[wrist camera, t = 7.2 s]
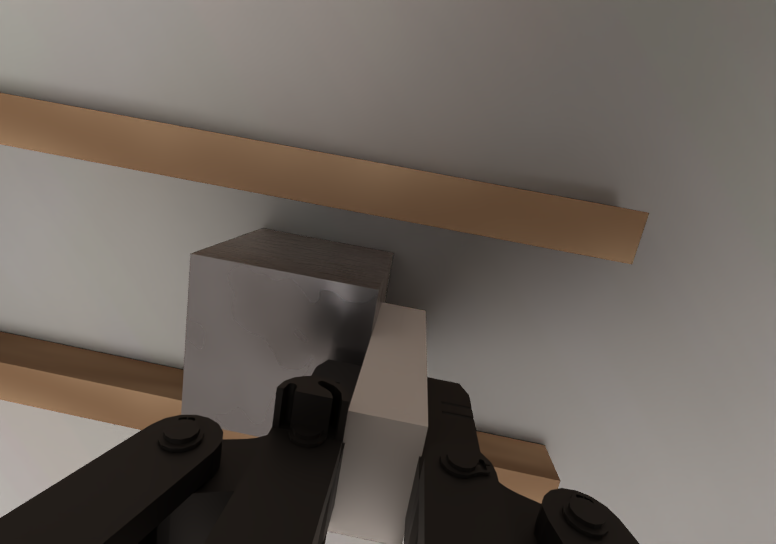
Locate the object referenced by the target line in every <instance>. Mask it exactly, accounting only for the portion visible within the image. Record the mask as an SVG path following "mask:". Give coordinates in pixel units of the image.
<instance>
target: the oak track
mask: <svg viewBox="0 0 776 544" xmlns="http://www.w3.org/2000/svg"><path fill="white" fill-rule="evenodd" d="M0 144H2V145H7V146H12V147H18V148H23V149H28V150H34V151H39V152H44V153H49V154H55V155H60V156H65V157H70V158H76V159H81V160H86V161H91V162H97V163H102V164H107V165H112V166H118V167H123V168H128V169H133V170H139V171H144V172H149V173H154V174H160V175H165V176H170V177H175V178H181V179H186V180H191V181H196V182H202V183H207V184H212V185H218V186H223V187H228V188H233V189H239V190H244V191H249V192H254V193H260V194H265V195H270V196H275V197H281V198H286V199H291V200H296V201H302V202H307V203H312V204H317V205H323V206H328V207H333V208H338V209H344V210H349V211H354V212H359V213H365V214H370V215H375V216H381V217H386V218H391V219H396V220H402V221H407V222H412V223H417V224H423V225H428V226H433V227H438V228H444V229H449V230H454V231H459V232H465V233H470V234H475V235H480V236H486V237H491V238H496V239H501V240H507V241H512V242H517V243H522V244H528V245H533V246H538V247H543V248H549V249H554V250H559V251H565V252H570V253H575V254H580V255H586V256H591V257H596V258H601V259H607V260H612V261H617V262H622V263H628V264H632V263H633V260H634V257H635V254H636V251H637V248H638V245H639V242H640V239H641V236H642V233H643V230H644V227H645V224H646V221H647V218H648V215H649V213H647V212H641V211H636V210H631V209H625V208H620V207H615V206H609V205H604V204H599V203H593V202H588V201H582V200H577V199H572V198H566V197H561V196H555V195H550V194H545V193H539V192H534V191H528V190H523V189H518V188H512V187H507V186H501V185H496V184H491V183H485V182H480V181H474V180H469V179H464V178H458V177H453V176H447V175H442V174H436V173H431V172H426V171H420V170H415V169H409V168H404V167H399V166H393V165H388V164H382V163H377V162H372V161H366V160H361V159H355V158H350V157H345V156H339V155H334V154H328V153H323V152H318V151H312V150H307V149H301V148H296V147H291V146H285V145H280V144H274V143H269V142H264V141H258V140H253V139H247V138H242V137H237V136H231V135H226V134H220V133H215V132H210V131H204V130H199V129H193V128H188V127H183V126H177V125H172V124H166V123H161V122H156V121H150V120H145V119H139V118H134V117H128V116H123V115H118V114H112V113H107V112H101V111H96V110H91V109H85V108H80V107H74V106H69V105H64V104H58V103H53V102H47V101H42V100H37V99H31V98H26V97H20V96H15V95H10V94H4V93H0ZM183 374H184V370H182V369H177V368H172V367H167V366H163V365H158V364H153V363H148V362H143V361H139V360H134V359H129V358H124V357H119V356H115V355H110V354H105V353H100V352H96V351H91V350H86V349H81V348H76V347H72V346H67V345H62V344H57V343H52V342H48V341H43V340H38V339H33V338H29V337H24V336H19V335H14V334H9V333H5V332H0V400H5V401H10V402H14V403H19V404H24V405H28V406H33V407H37V408H42V409H47V410H51V411H56V412H61V413H65V414H70V415H75V416H79V417H84V418H88V419H93V420H98V421H102V422H107V423H112V424H116V425H121V426H126V427H130V428H135V429H139V430H143V429H144V428H146V427H148V426H149V425H151V424H153V423H155V422H157V421H160V420H162V419H164V418H168V417H172V416H177V415H181V408H182V391H183ZM222 431H223V439H249V438H257V436H252V435H247V434H243V433H238V432H233V431H228V430H224V429H222ZM476 432H477V437H478V442H479V447H480V452H481V453H482V454H483V455H484V456H485V457H486V458H487V459H488V460H489V461H490V462H491V463H492V465H493V467H494V469H495V471H496V473H497V476H498V481H499V482H500V483H501V484H503V485H504V486H505V487H507V488H509V489H510V490H512V491H514V492H516V493H518V494H520V495H523V496H525V497H527V498H529V499H532V500H534V501H536V502H538V503H542V500H543V497H544V495H546V494H547V493H548V492H549V491H550V490H554V489H558V486H559V483H560V479H559V477H558V474H557V472H556V470H555V468H554V465H553V463H552V461H551V458H550V456H549V454H548V452H547V449H546V447H545V445H541V444H536V443H531V442H526V441H521V440H517V439H512V438H507V437H502V436H498V435H493V434H488V433H483V432H478V431H476Z"/></svg>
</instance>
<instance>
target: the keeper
mask: <svg viewBox="0 0 776 544" xmlns="http://www.w3.org/2000/svg"><path fill="white" fill-rule="evenodd" d="M393 255H394V253H392V252H387V251H381V250H376V249H371V248H365V247H360V246H355V245H349V244H344V243H339V242H334V241H328V240H323V239H318V238H312V237H307V236H302V235H296V234H291V233H286V232H281V231H275V230H270V229H265V228H262V229H259V230H256V231H253V232H250V233H248V234H245V235H242V236H239V237H236V238H233V239H231V240H228V241H225V242H222V243H219V244H216V245H213V246H211V247H208V248H205V249H202V250H199V251H196V252H194V253H191V254H190V271H189V288H188V306H187V323H186V340H185V357H184V374H183V391H182V408H181V415H199V416H204V417H208V418H210V419H212V420H214V421H215V422H217V423H218V424H219V425H220V427H221V429H224V430H228V431H233V432H238V433H243V434H247V435H252V436H257V437H261V436H265V435H268V433H269V431H270V430H271V428H272V423H273V414H274V406H275V398H276V390H277V387H278V386H279V385H280V384H281V383H282V382H283V381H285V380H288V379H291V378H294V377H300V376H311V375H312V373H313V372H314V370H315V368H316V366H318V365H320V364H321V363H323V362H325V361H327V360H328V359H330V360H335V361H340V362H345V363H350V364H355V365H360V366H362V365H363V361H364V358H365V355H366V352H367V349H368V345H369V342H370V339H371V336H372V333H373V329H374V326H375V323H376V320H377V317H378V313H379V310H380V307H381V305H382V302H383V303H385V299H386V293H387V288H388V282H389V277H390V271H391V266H392V260H393Z"/></svg>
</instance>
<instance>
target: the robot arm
mask: <svg viewBox="0 0 776 544" xmlns="http://www.w3.org/2000/svg"><path fill="white" fill-rule="evenodd" d="M327 531H329V532H333V533H338V534H343V535H347V536H352V537H357V538H361V539H366V540H371V541H375V542H380V543H385V544H402V541H403V537H404V544H639V543H638V541H637V540H636V539H635V538H634V536H633V535H632V534H631V533H630V532H629V530H628V529H627V528H626V527H625V525H624V524H623V523H622V522H621V521H620V519H619V518H618V517H617V516H616V515H615V514H613V513H612V512H611V511H610V510H609V509H608V508H607V507H606V506H604V505H603V504H601V503H600V502H598V501H597V500H595V499H594V498H592V497H590V496H588V495H586V494H583V493H581V492H578V491H575V490H570V489H564V488H560V489H554V490H550V491H549V492H548V493H547V494H546V495H544V497H543V500H542V503H538V502H536V501H534V500H532V499H529V498H527V497H525V496H523V495H520V494H518V493H516V492H514V491H512V490H510V489H509V488H507V487H505V486H504V485H503V484H501V483H500V482H499V481H498V476H497V473H496V471H495V469H494V467H493V465H492V463H491V462H490V461H489V460H488V459H487V458H486V457H485V456H484V455H483V454H482V453H481V452H480V447H479V442H478V437H477V432H476V428H475V423H474V420H473V413H472V410H471V403H470V398H469V395H468V394H467V392H466V391H465V390H464V389H463V388H462V387H461V385H460V384H458V383H453V382H448V381H443V380H438V379H433V378H428V377H427V345H426V311H424V310H419V309H414V308H409V307H404V306H398V305H393V304H388V303H383V302H382V305H381V307H380V310H379V313H378V317H377V320H376V323H375V326H374V329H373V333H372V336H371V339H370V342H369V345H368V349H367V352H366V355H365V358H364V361H363V365H362V366H360V365H355V364H350V363H345V362H340V361H335V360H330V359H328V360H327V361H325V362H323V363H321V364H320V365H318V366H316V368H315V370H314V372H313V373H312V375H311V376H300V377H294V378H291V379H288V380H285V381H283V382H282V383H281V384H280V385H279V386H278V387H277V390H276V398H275V406H274V414H273V423H272V428H271V430H270V431H269V433H268V435H265V436H261V437H257V438H249V439H223V431H222V429H221V427H220V425H219V424H218V423H217V422H215V421H214V420H212V419H210V418H208V417H204V416H199V415H177V416H172V417H168V418H164V419H162V420H160V421H157V422H155V423H153V424H151V425H149V426H148V427H146V428H144V429H143V430H141V431H140V432H138V433H136V434H135V435H133V436H132V437H130V438H128V439H127V440H125V441H123V442H122V443H120V444H119V445H117V446H115V447H114V448H112V449H111V450H109V451H107V452H106V453H104V454H103V455H101V456H99V457H98V458H96V459H95V460H93V461H91V462H90V463H88V464H86V465H85V466H83V467H82V468H80V469H78V470H77V471H75V472H74V473H72V474H70V475H69V476H67V477H66V478H64V479H62V480H61V481H59V482H58V483H56V484H54V485H53V486H51V487H49V488H48V489H46V490H45V491H43V492H41V493H40V494H38V495H37V496H35V497H33V498H32V499H30V500H29V501H27V502H25V503H24V504H22V505H20V506H19V507H17V508H16V509H14V510H12V511H11V512H9V513H8V514H6V515H4V516H3V517H1V518H0V544H325V540H326V534H327ZM404 532H405V533H404Z"/></svg>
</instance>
